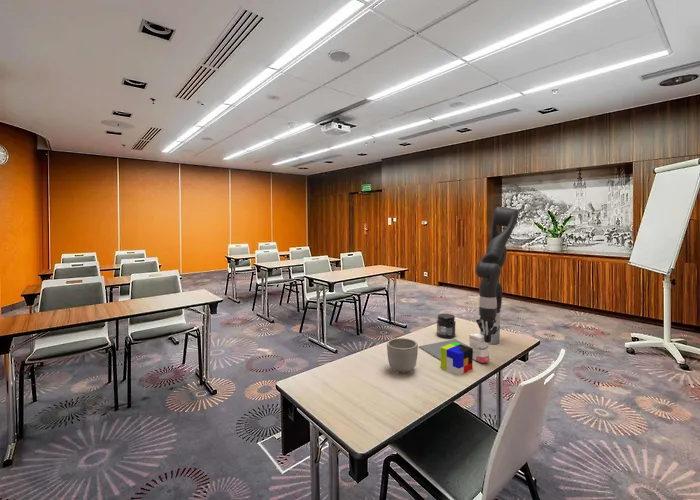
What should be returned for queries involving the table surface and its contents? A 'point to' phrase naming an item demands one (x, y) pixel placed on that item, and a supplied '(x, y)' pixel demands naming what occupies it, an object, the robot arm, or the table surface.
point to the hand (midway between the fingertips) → (487, 342)
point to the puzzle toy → (456, 358)
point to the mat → (438, 347)
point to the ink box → (479, 348)
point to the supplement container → (446, 326)
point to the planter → (402, 354)
